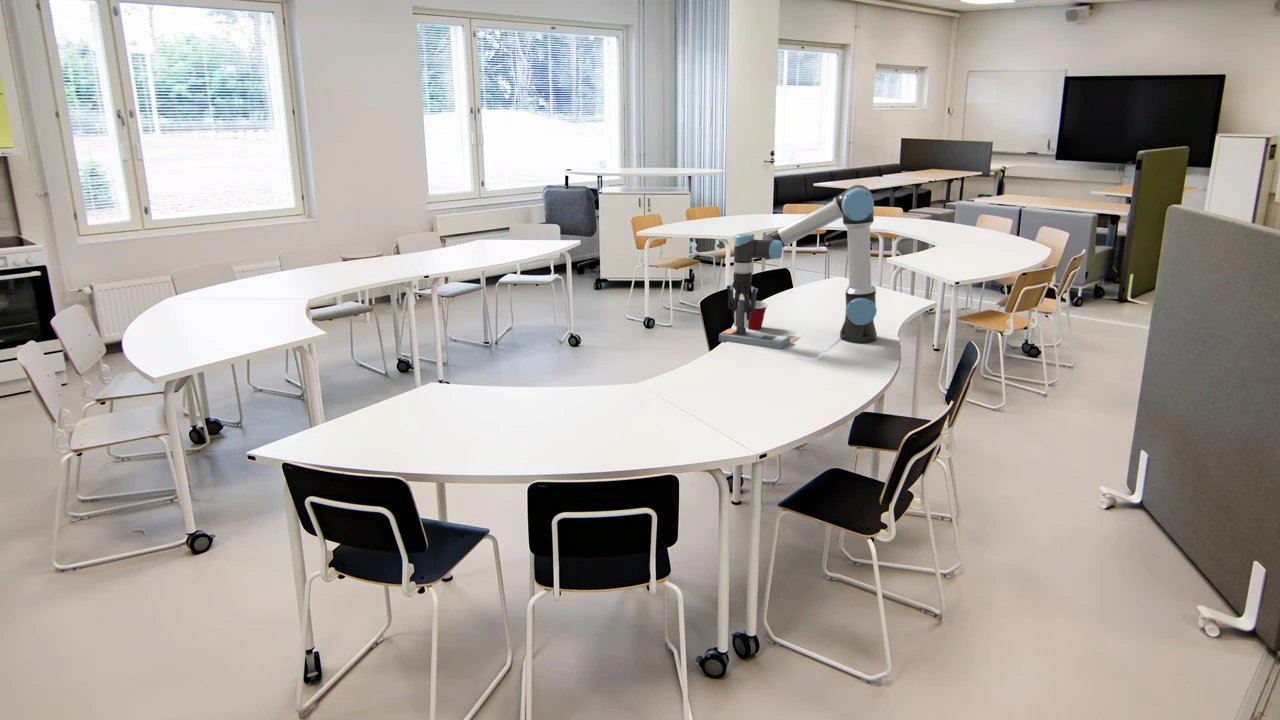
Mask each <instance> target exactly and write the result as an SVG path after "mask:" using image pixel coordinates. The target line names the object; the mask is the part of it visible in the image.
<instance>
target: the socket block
mask: <svg viewBox="0 0 1280 720" xmlns="http://www.w3.org/2000/svg"><path fill="white" fill-rule="evenodd" d="M777 335H778V334H770V333H762V332H754V331H749V330H746V334H737V333H736V328H735V329H734V328H728V329H725V330H724V331H722V332H721V333H719V334H718V342H722V343H727V342H730V343H737V344H743V345H750V346H755V347H756V346H757V347H762V348H768V349H777V350H782V349H784V348H785V347H787V346H788V345H789V344H791V343H790V337H785V336H777Z"/></svg>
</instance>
